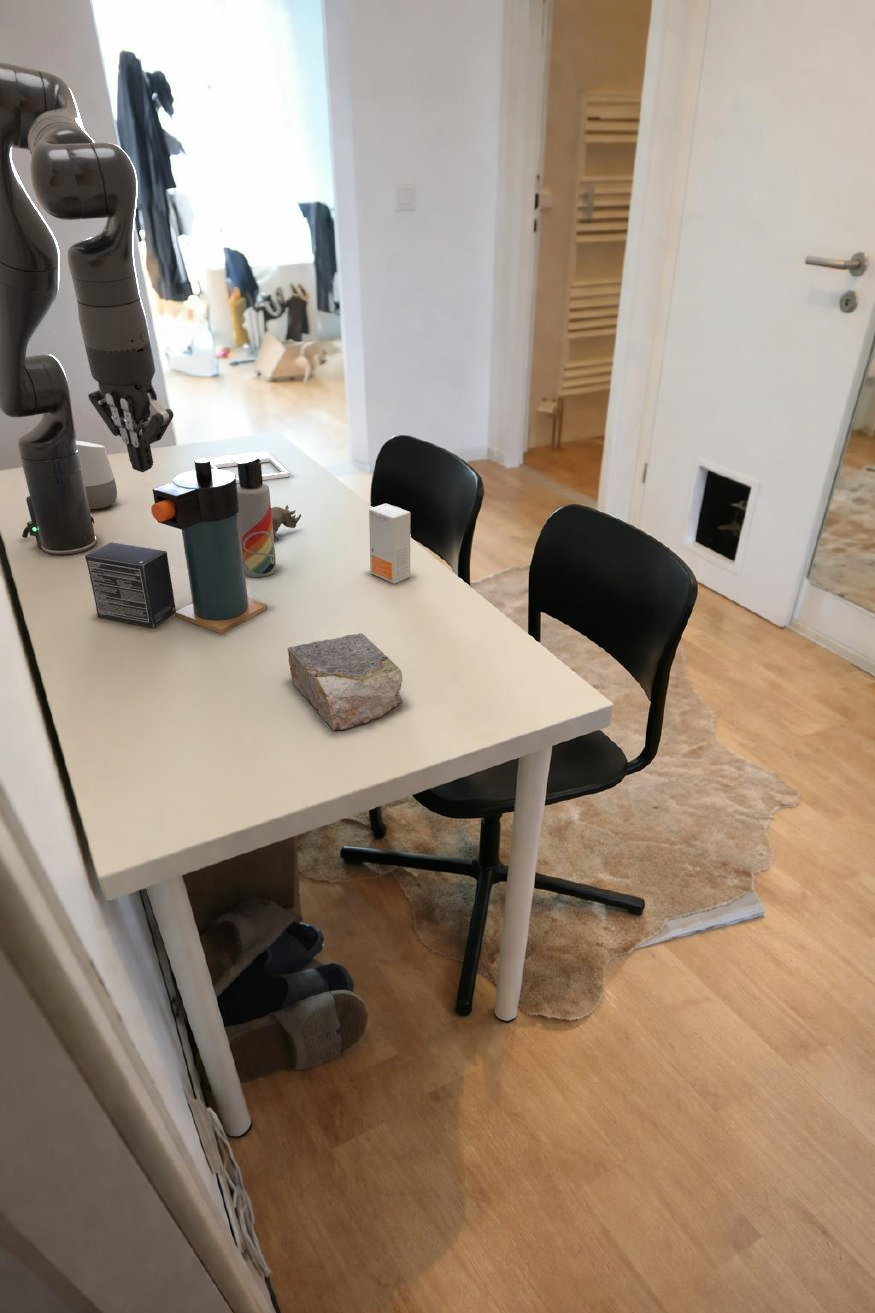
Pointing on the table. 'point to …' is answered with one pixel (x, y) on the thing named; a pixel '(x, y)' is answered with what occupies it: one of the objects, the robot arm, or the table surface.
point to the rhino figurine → (283, 519)
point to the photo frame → (233, 459)
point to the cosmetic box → (389, 542)
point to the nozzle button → (163, 510)
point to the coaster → (221, 625)
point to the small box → (131, 584)
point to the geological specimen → (346, 679)
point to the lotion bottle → (255, 519)
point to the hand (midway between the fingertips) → (143, 468)
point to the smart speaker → (97, 475)
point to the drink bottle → (209, 538)
